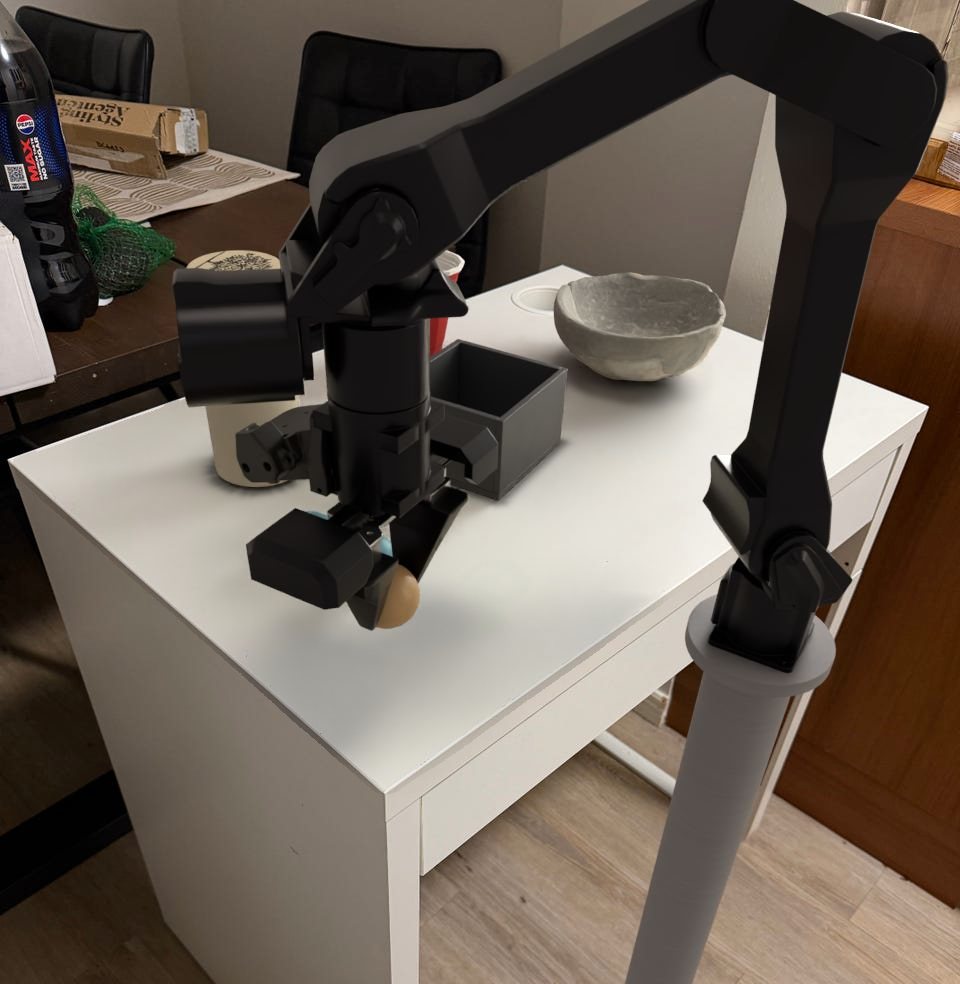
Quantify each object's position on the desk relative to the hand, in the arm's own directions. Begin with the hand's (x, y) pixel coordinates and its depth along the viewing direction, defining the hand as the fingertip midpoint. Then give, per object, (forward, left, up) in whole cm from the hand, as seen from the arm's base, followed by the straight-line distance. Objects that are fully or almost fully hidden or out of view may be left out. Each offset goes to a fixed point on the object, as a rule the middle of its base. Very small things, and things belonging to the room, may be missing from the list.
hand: (387, 608), depth 63 cm
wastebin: (+10, -29, -5) cm, 31 cm away
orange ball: (0, 0, -1) cm, 1 cm away
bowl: (+5, -54, -5) cm, 55 cm away
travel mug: (+25, -16, -5) cm, 30 cm away
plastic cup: (+25, -41, -5) cm, 48 cm away
